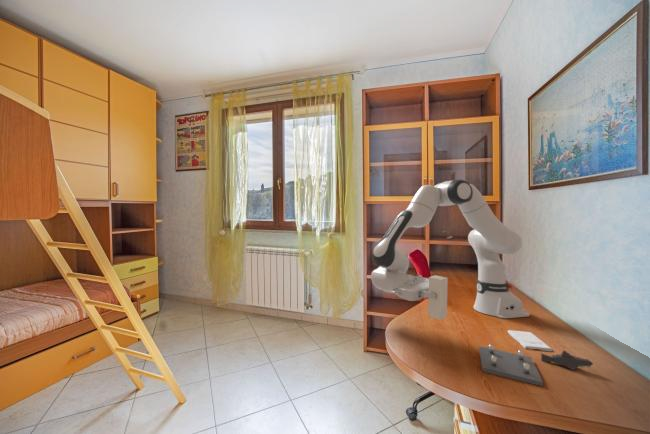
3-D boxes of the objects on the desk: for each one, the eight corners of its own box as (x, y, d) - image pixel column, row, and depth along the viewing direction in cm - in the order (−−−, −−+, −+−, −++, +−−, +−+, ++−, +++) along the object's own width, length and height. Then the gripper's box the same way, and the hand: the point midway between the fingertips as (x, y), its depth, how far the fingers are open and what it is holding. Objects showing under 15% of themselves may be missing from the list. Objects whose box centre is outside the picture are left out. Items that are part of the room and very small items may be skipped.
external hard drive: (531, 336, 102) (552, 353, 90) (507, 334, 104) (524, 350, 92) (531, 332, 102) (552, 348, 90) (507, 329, 104) (525, 345, 92)
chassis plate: (479, 349, 90) (479, 338, 90) (530, 360, 84) (531, 349, 84) (482, 371, 78) (482, 358, 78) (542, 386, 71) (543, 372, 71)
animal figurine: (543, 368, 82) (539, 351, 83) (541, 361, 86) (538, 345, 87) (596, 374, 76) (592, 356, 76) (592, 367, 80) (588, 349, 80)
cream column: (434, 313, 98) (435, 275, 98) (446, 317, 95) (447, 277, 94) (428, 316, 95) (429, 277, 95) (440, 320, 92) (441, 279, 92)
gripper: (390, 282, 98) (424, 291, 88) (420, 274, 111) (454, 281, 100) (389, 299, 98) (424, 310, 88) (420, 289, 111) (453, 298, 101)
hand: (440, 294), depth 94 cm, fingers closed on cream column, 4 cm apart
